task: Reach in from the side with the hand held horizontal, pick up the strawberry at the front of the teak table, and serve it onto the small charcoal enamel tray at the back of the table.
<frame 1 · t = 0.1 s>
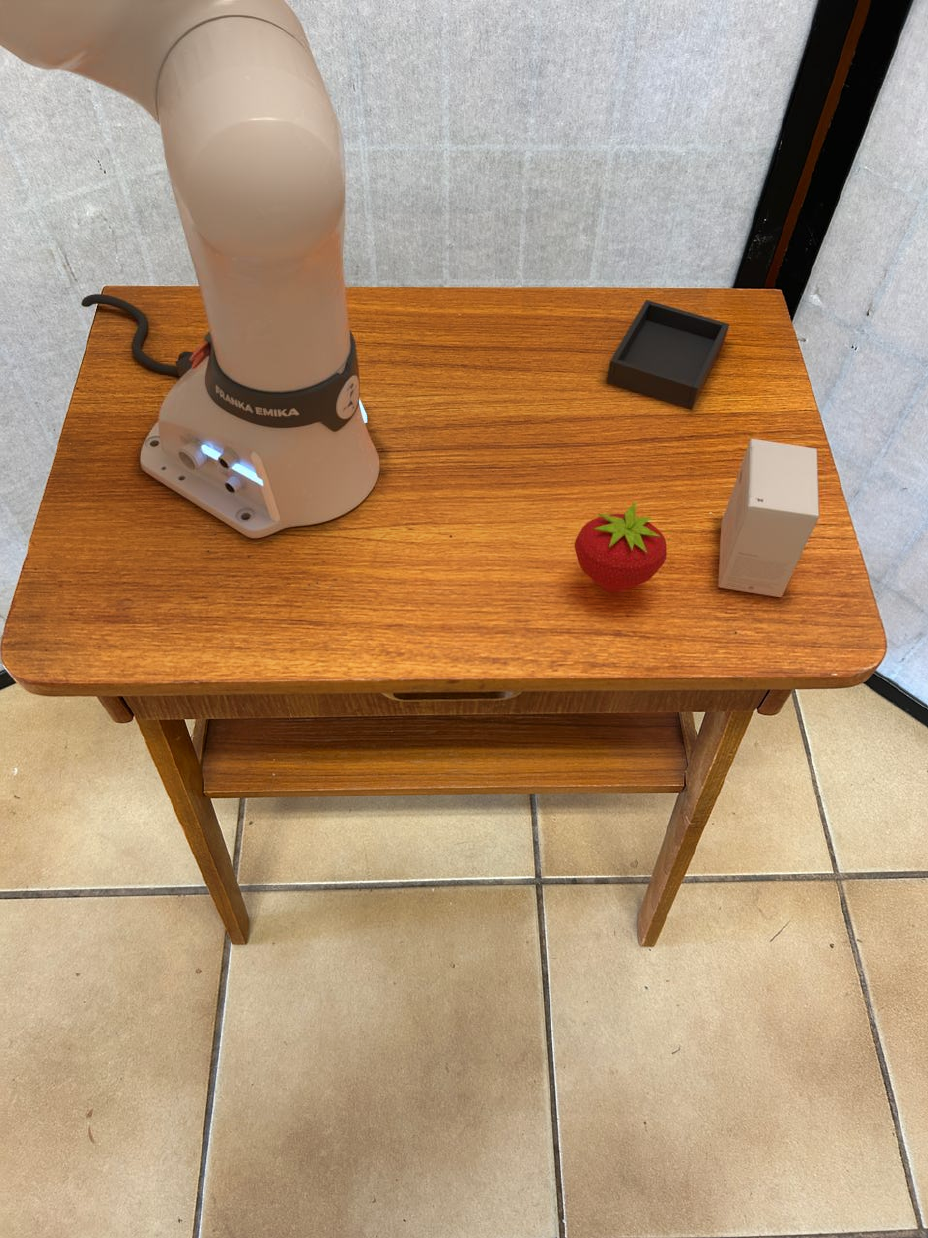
small box: (749, 560, 85), on the table
strawberry: (610, 589, 82), on the table
tray: (665, 363, 100), on the table
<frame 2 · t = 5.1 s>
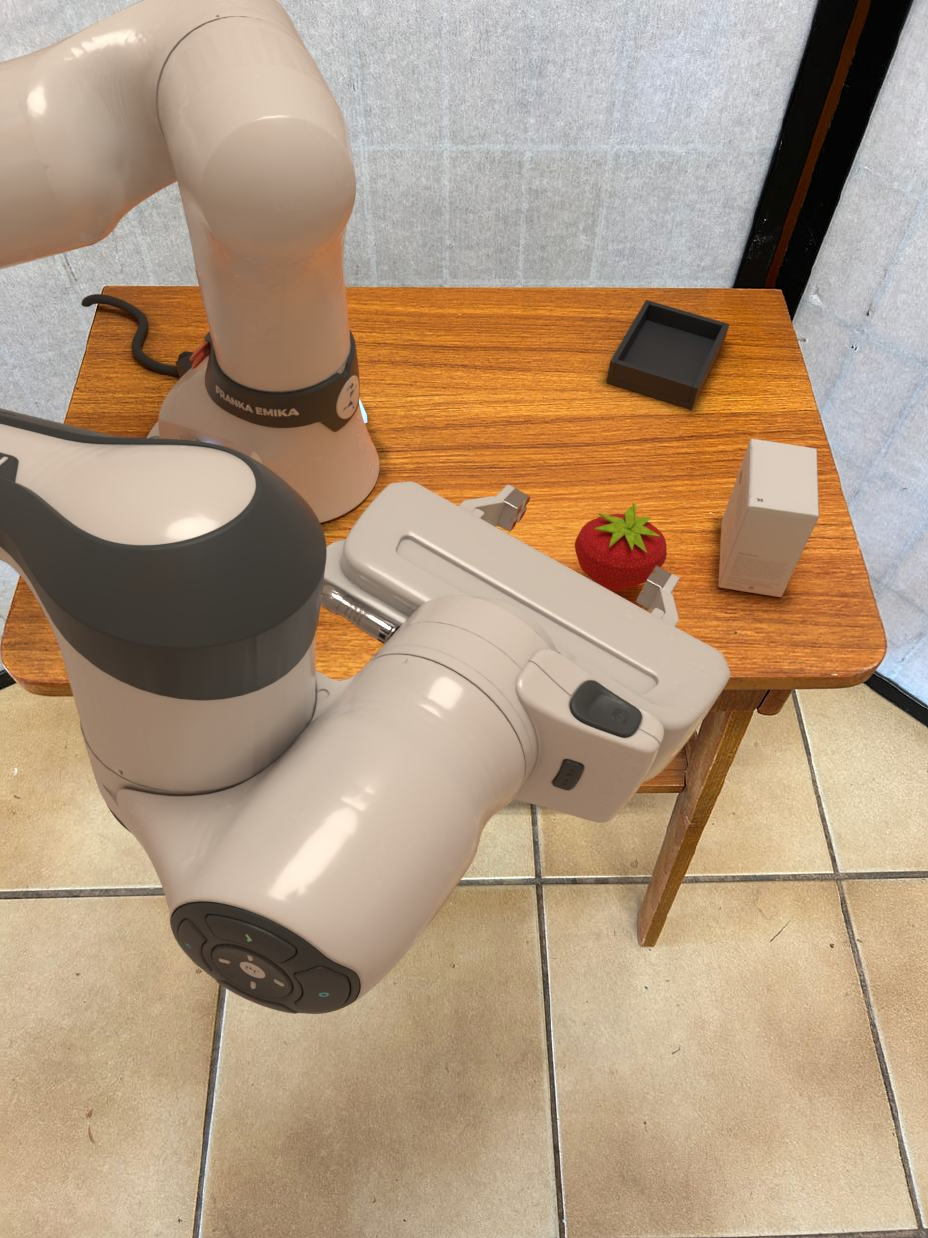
hand: (589, 538, 53), 25 cm above the table, tool horizontal, fingers open, 8 cm apart
nothing on the table moved.
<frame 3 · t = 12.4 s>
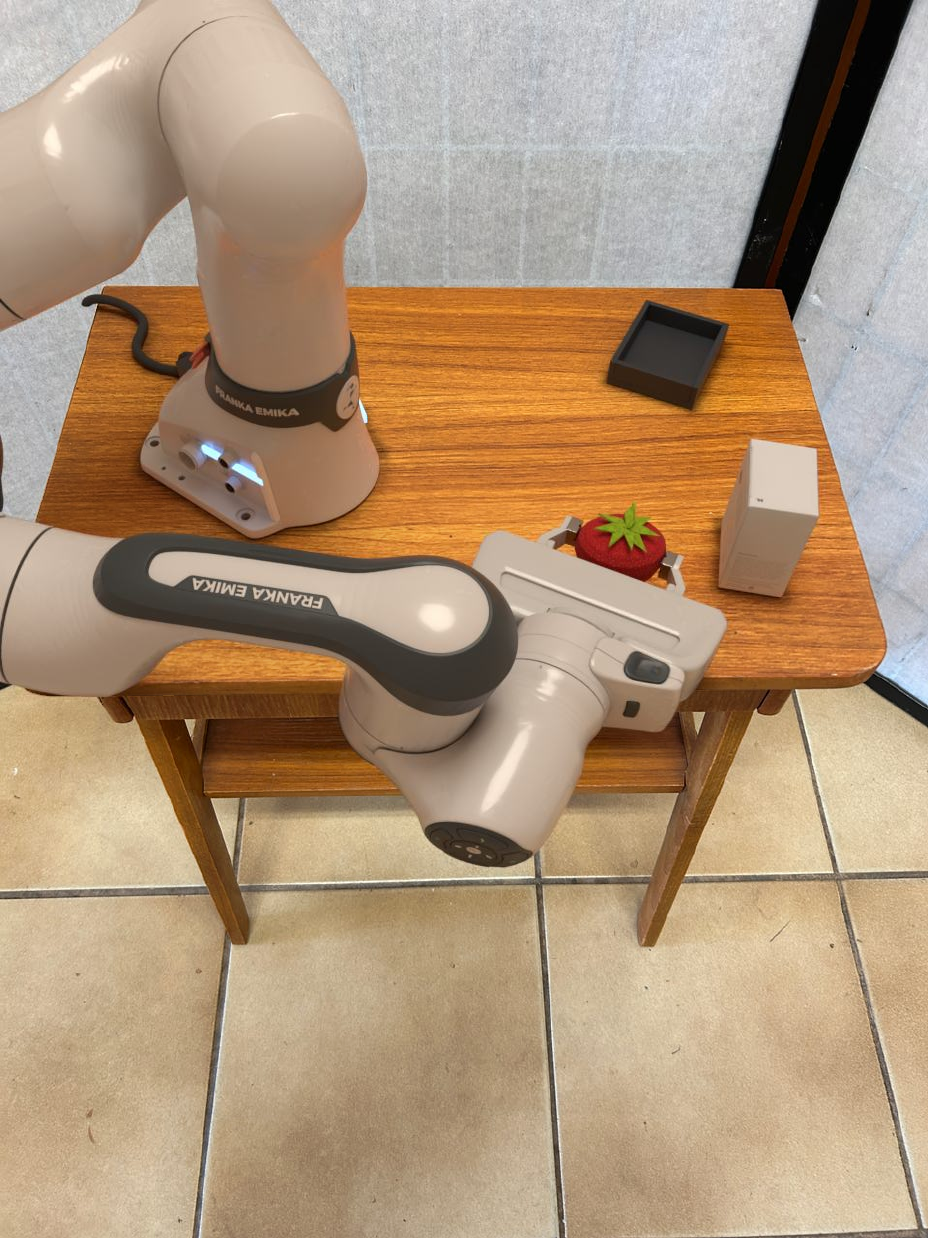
hand: (624, 540, 78), 6 cm above the table, tool horizontal, fingers closed on strawberry, 7 cm apart
strawberry: (610, 589, 82), on the table, touching gripper
everything else where it was.
when the fingers open (6 cm above the table, at t = 22.1 s): strawberry stays where it is, resting on tray.
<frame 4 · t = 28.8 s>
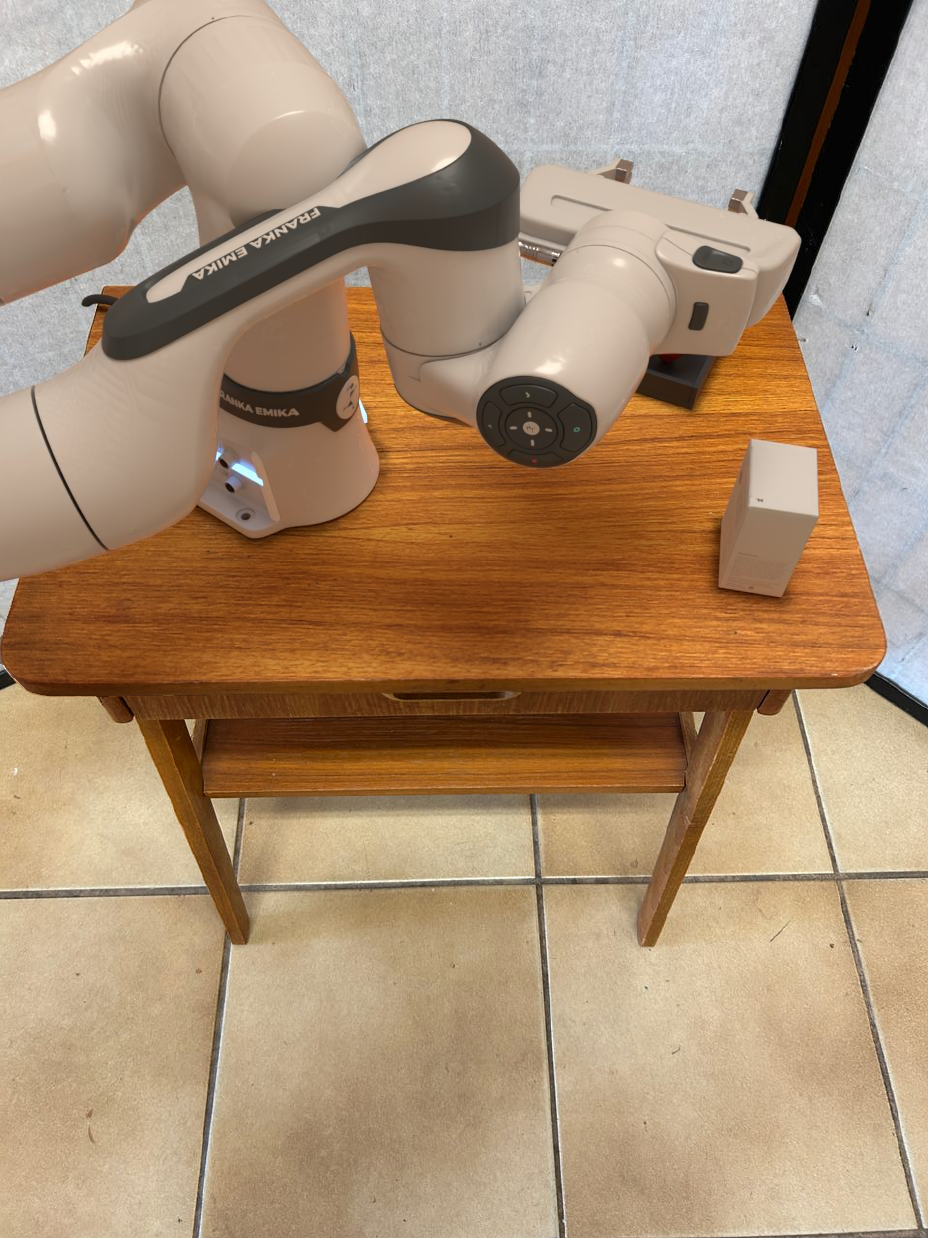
hand: (682, 183, 72), 26 cm above the table, tool horizontal, fingers open, 8 cm apart
strawberry: (665, 361, 99), point 1 cm above the table, touching tray
everything else where it was.
at the end: strawberry inside the target area in the tray (0.5 cm from its centre), point 0.6 cm above the tray's base; the gripper is holding nothing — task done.
